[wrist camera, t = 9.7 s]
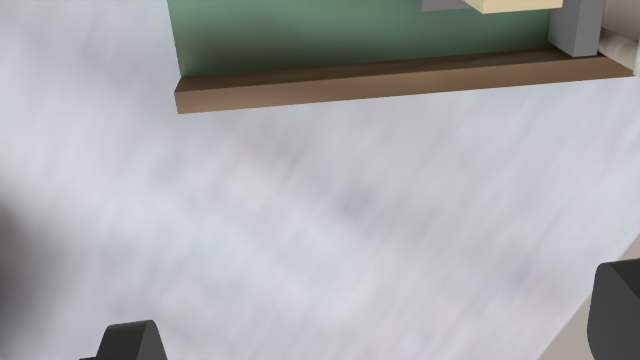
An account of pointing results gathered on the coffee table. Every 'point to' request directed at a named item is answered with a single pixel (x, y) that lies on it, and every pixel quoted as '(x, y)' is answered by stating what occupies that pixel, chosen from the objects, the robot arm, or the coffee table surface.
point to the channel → (375, 50)
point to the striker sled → (565, 19)
